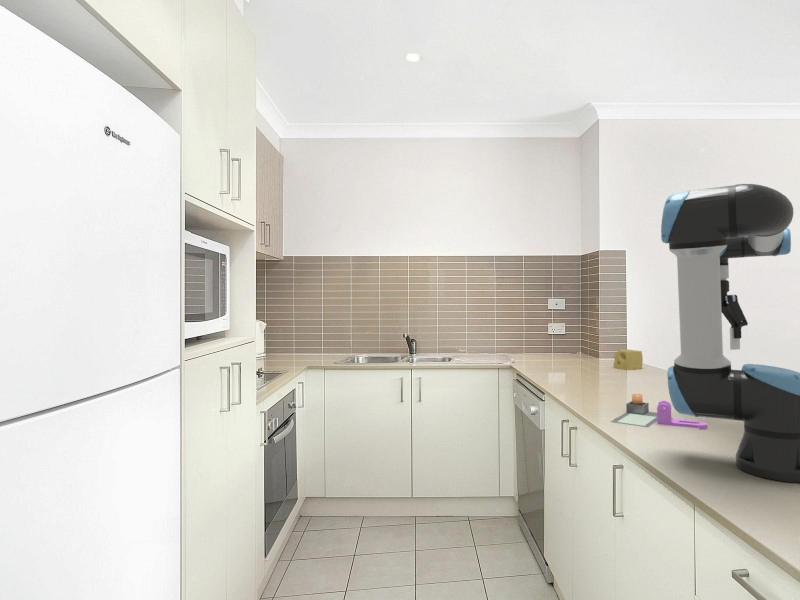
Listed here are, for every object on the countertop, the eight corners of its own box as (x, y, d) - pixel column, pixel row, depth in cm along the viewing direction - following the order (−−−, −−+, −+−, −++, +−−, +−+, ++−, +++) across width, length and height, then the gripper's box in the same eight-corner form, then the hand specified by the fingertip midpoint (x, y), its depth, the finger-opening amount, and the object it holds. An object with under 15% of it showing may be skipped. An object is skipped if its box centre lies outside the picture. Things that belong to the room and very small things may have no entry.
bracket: (657, 426, 149) (656, 403, 149) (658, 421, 153) (657, 399, 153) (707, 430, 142) (706, 407, 142) (706, 426, 147) (705, 403, 147)
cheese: (613, 368, 268) (613, 350, 268) (629, 366, 271) (628, 348, 271) (627, 370, 258) (627, 351, 258) (643, 369, 261) (643, 350, 261)
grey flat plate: (648, 428, 145) (648, 426, 145) (610, 423, 153) (610, 421, 153) (666, 415, 161) (666, 413, 161) (631, 410, 168) (630, 409, 168)
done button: (641, 407, 162) (640, 395, 162) (631, 406, 164) (630, 394, 164) (643, 406, 164) (643, 394, 164) (633, 404, 166) (633, 393, 166)
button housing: (644, 414, 160) (643, 405, 160) (626, 412, 164) (626, 403, 164) (648, 411, 164) (648, 403, 164) (631, 409, 168) (631, 401, 168)
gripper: (761, 277, 140) (763, 350, 140) (693, 281, 165) (695, 343, 165) (739, 277, 139) (741, 351, 139) (674, 281, 163) (676, 344, 163)
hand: (716, 347), depth 152 cm, fingers open, 13 cm apart
